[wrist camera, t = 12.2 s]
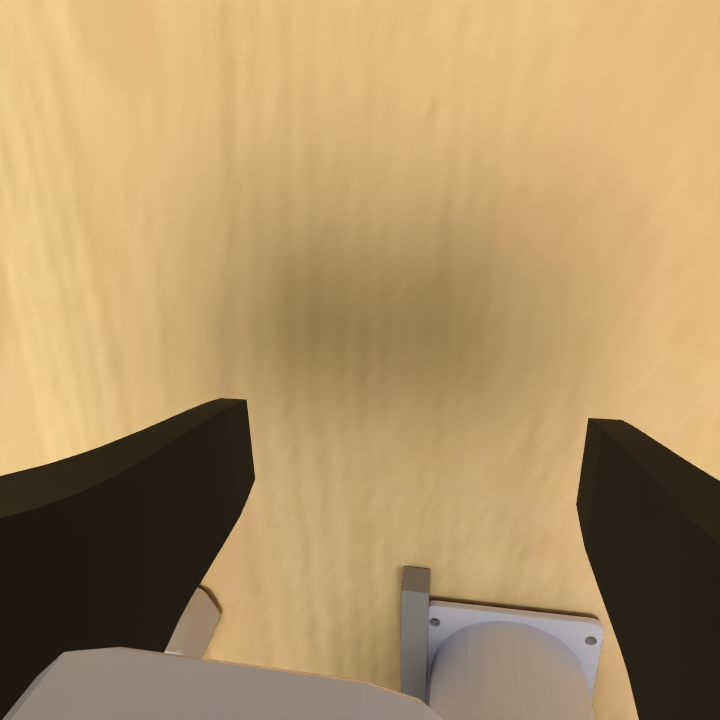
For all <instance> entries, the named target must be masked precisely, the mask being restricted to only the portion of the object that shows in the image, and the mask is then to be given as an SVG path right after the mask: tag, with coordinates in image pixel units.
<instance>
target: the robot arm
mask: <svg viewBox="0 0 720 720" xmlns="http://www.w3.org/2000/svg"><path fill="white" fill-rule="evenodd" d="M254 480H255V473H254V464H253V455H252V446H251V436H250V427H249V418H248V409H247V400H243V399H224V398H220V399H216V400H213V401H210V402H207V403H204V404H202V405H199V406H197V407H194V408H192V409H189V410H187V411H185V412H183V413H180V414H178V415H176V416H173V417H171V418H169V419H167V420H164V421H162V422H160V423H157V424H155V425H153V426H151V427H148V428H146V429H144V430H141V431H139V432H136V433H134V434H131V435H129V436H126V437H124V438H121V439H119V440H116V441H114V442H111V443H109V444H106V445H104V446H101V447H99V448H96V449H93V450H90V451H87V452H84V453H81V454H79V455H75V456H72V457H69V458H66V459H63V460H59V461H56V462H53V463H50V464H46V465H43V466H39V467H35V468H31V469H27V470H23V471H19V472H15V473H11V474H7V475H3V476H0V720H595V717H594V713H593V709H592V704H591V701H592V695H593V689H594V684H595V678H596V673H597V667H598V662H599V656H600V651H601V645H602V640H603V634H604V631H603V627H602V624H601V622H600V621H598V620H597V619H594V618H588V617H579V616H570V615H561V614H552V613H543V612H534V611H525V610H516V609H507V608H498V607H489V606H481V605H472V604H463V603H454V602H445V601H436V600H435V601H429V617H428V652H427V688H426V704H425V703H424V702H422V701H421V700H420V699H418V698H415V697H412V696H409V695H406V694H403V693H400V692H397V691H394V690H391V689H388V688H385V687H382V686H379V685H376V684H373V683H370V682H367V681H363V680H355V679H348V678H341V677H334V676H327V675H320V674H312V673H305V672H298V671H291V670H284V669H276V668H269V667H262V666H255V665H248V664H240V663H233V662H226V661H219V660H212V659H204V658H197V657H190V656H183V655H176V654H168V653H164V652H165V650H166V648H167V646H168V643H169V641H170V639H171V637H172V635H173V633H174V631H175V628H176V626H177V624H178V622H179V620H180V618H181V616H182V614H183V612H184V610H185V608H186V607H187V605H188V603H189V601H190V599H191V597H192V596H193V594H194V592H195V591H196V589H197V588H198V586H199V584H200V583H201V581H202V579H203V578H204V576H205V574H206V573H207V571H208V569H209V568H210V566H211V564H212V563H213V561H214V559H215V558H216V556H217V554H218V553H219V551H220V549H221V548H222V546H223V544H224V543H225V541H226V539H227V538H228V536H229V534H230V532H231V531H232V529H233V527H234V526H235V524H236V522H237V520H238V519H239V517H240V515H241V513H242V510H243V508H244V506H245V503H246V501H247V499H248V496H249V493H250V491H251V488H252V486H253V483H254ZM576 505H577V511H578V516H579V521H580V527H581V532H582V537H583V541H584V546H585V550H586V553H587V556H588V559H589V561H590V564H591V567H592V570H593V573H594V576H595V579H596V582H597V585H598V587H599V590H600V593H601V596H602V599H603V601H604V604H605V607H606V610H607V613H608V615H609V618H610V621H611V624H612V627H613V630H614V632H615V635H616V638H617V641H618V644H619V646H620V649H621V652H622V656H623V659H624V662H625V666H626V669H627V672H628V676H629V680H630V684H631V688H632V692H633V697H634V701H635V705H636V709H637V713H638V717H639V720H720V481H719V480H717V479H716V478H714V477H712V476H711V475H709V474H707V473H706V472H704V471H702V470H701V469H699V468H697V467H696V466H694V465H693V464H691V463H689V462H688V461H686V460H685V459H683V458H682V457H680V456H678V455H677V454H675V453H674V452H672V451H671V450H669V449H668V448H666V447H665V446H663V445H662V444H660V443H659V442H657V441H656V440H654V439H652V438H651V437H649V436H648V435H646V434H645V433H643V432H642V431H640V430H638V429H637V428H635V427H634V426H632V425H630V424H628V423H626V422H624V421H622V420H613V419H594V418H588V426H587V433H586V440H585V447H584V454H583V461H582V468H581V475H580V482H579V489H578V496H577V503H576ZM432 618H436V619H438V620H433V619H432ZM591 636H592V638H587V637H591Z"/></svg>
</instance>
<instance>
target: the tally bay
mask: <svg viewBox="0 0 720 720" xmlns="http://www.w3.org/2000/svg"><path fill="white" fill-rule="evenodd" d="M429 595H430V569H424V568H414V567H404V575H403V582H402V590H401V693H403V694H406V695H409V696H412V697H415V698H418V699H420V700H421V701H422V702H424V703H425V704H426V688H427V652H428V617H429Z"/></svg>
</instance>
